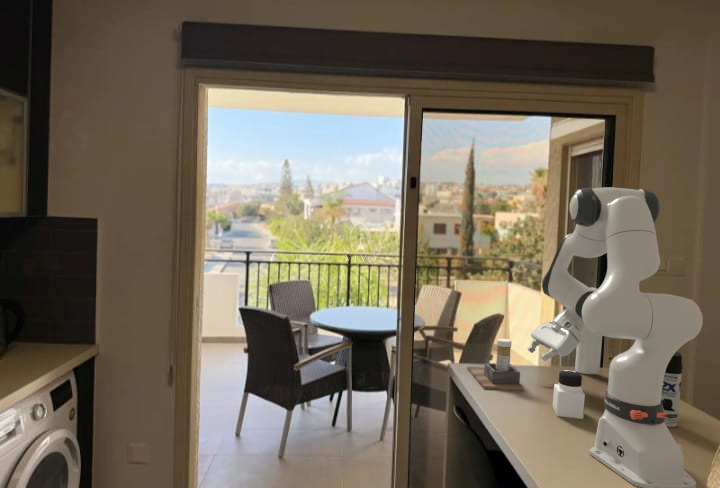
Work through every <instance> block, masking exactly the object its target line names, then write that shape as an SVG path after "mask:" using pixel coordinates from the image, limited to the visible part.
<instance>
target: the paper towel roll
mask: <svg viewBox="0 0 720 488" xmlns="http://www.w3.org/2000/svg"><path fill="white" fill-rule="evenodd" d="M580 333H581V334H582V335H583V337H584V338H585V340H584V341H583V342H582V343H579V344H578V346H577V347H576V348H575V349H576V351H575V364H574V366H575V367H574V371H575V372H577V373H579V374H584V375H600V369H601V368H600V367H601V356H602V346H603V345H602V344H603V336H602V335H598V334H595V333H592V332H590V331H589V330H588V328H587V327H586V326H585V327H584V329H583V330H582V331H581V332H580Z"/></svg>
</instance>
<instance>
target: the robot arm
mask: <svg viewBox="0 0 720 488" xmlns="http://www.w3.org/2000/svg"><path fill="white" fill-rule="evenodd" d="M660 208H661V207H660V201H659V198H658V197H657V195H656V194H655V192H653V191H650V190H647V189H643V188H642V189H641V188H638V189H633V188H623V187H612V186H610V187H595V188H594V187H593V188H591V187H585V188H579V189H577V190H576V191H575V192H573V194H572V197H571V199H570V202H569V213H570V218H571V220H572V221H573V222H574V224H575V227H574V231H573V232H569V233H568V234H566V235H565V236H564V238H563V239H562V240H561V242H560V243H559V246H558V248H557V251H556V253H555V255H554V257H553V258H552V259H553V260H552V262H551V264H550V266H549V268H548V270H547V272H546V274H544V277H543V278H542V281H541V290H542V292H543V294H544V295H545V296H548V298H549V297H550V299H553V300H555V302H557V303H559V305H561V306H562V307H564V308H565V309H563V310H562V311H560V313H558V315H556V316H555V317H554V318H553V319H552V320H549V321H547V322H543V323H541V324H540V325H539V326H538V327H536V328H535V329H534V330H533V331H532V332H531V333H530V337H531V338H532V339H533V340H532V341H531V343H530V345H529V346H528V347H527V351H529V352H530V353H531V354H533V353H534V352H535V351H536V348H537V347H539V346H540V345H542V346H543V347H544V348H547V349H548V351H546V352H542V354H541V355H540V359H541V360H542V361H544V362H547V361H548V360H549V359H551V358H554V357H555V356H556V355H559V356H561V357H566V356H569V354H571V353H572V352H573V351H574V350H575V349H577V346H578V344H579V343H582V342H583V341H584V340H585V338H584V337H583V335H582V334H581V333H580V332H581V331H582V330H583V329H584V327H585V326H586V327H587V328H588V330H589V331H590V332H592V333H595V334H598V335H602V337H607V338H611V339H625V340H635V341H634V342H633V344H632V346H631V347H630V348H629V349H627V350H626V351H624V352H622V353H619V354H616V356H614V357H613V358H612V360H611V361H610V364H609V372H608V384H607V390H606V392H605V395H604V397H603V398H604V404H603V406H604V408H605V409H604V411H603V414H602V415H601V417H600V418H599V419H598V424H597V428H596V434H595V440H594V444H593V445H594V446H591V447H590V448H589V450H588V451H589V452H588V454H589V455H590V456H591V457H593V458H594V459H596V460H598V461H599V462H600V463H602V464H603V465H604V466H606V467H607V468H609V469H610V470H612V471H614V473H616V474H617V475H619V477H622V478H623V479H624V480H626V481H628V482H629V484H632V486H633V485H634V486H636V487H639V488H697V487H698V486H697V483H698V482H696V480H695V479H694V478H693V477H692V476H691V475H690V474H689V473H688V472H687V471H686V470H685V459H684V453H683V452H684V449H683V446H682V445H681V444H680V443H677V442H676V440H675V438H674V437H673V435H672V433H671V431H670V430H669V427H667V426H666V425H665V418H668V417H665V415H667V414H668V413H664V408H663V404H662V402H661V395H662V387H663V380H664V374H665V371H666V368H667V365H668V363H669V361H670V360H671V358H672V356H673V355H674V354H675V352H678V350H680V349H681V347H682V346H684V345H685V344H687V342H690V341H691V340H693V339H695V338H696V337H697V336H698V335H699V334H700V332H701V330H702V328H703V321H704V320H703V319H704V317H703V313H702V310H701V309H700V307H699V306H698V304H697V303H696V302H695V301H694V300H692V299H690V298H686V297H684V296H678V295H674V294H672V293H671V294H670V293H655V292H654V293H653V292H642V291H641V290H640V282H641V281H644V280H646V279H648V278H650V277H652V276H654V275H655V274H656V273H657V271H658V270H659V267H660V265H661V258H660V251H659V245H658V239H657V238H658V237H657V232H656V231H657V230H656V227H655V222H657V220H658V218H659V215H660V210H661V209H660ZM605 254H606V257H607V258H606V259H607V261H606V262H607V269H606V274H605V276H604V280H603V282H602V283H601V285H600V286H599V287H598V288H596V287H592V286H591V287H589V286H587V285H586V284H584V283H583V282H581V281H579V280H578V279H576V278H575V277H574V276H572V274H571V273H570V272H569V271H568V268H569V266H570V264H571V262H572V260H573V257H580V258H584V259H585V258H586V259H594V258H598V257H601V256H603V255H605Z"/></svg>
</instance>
